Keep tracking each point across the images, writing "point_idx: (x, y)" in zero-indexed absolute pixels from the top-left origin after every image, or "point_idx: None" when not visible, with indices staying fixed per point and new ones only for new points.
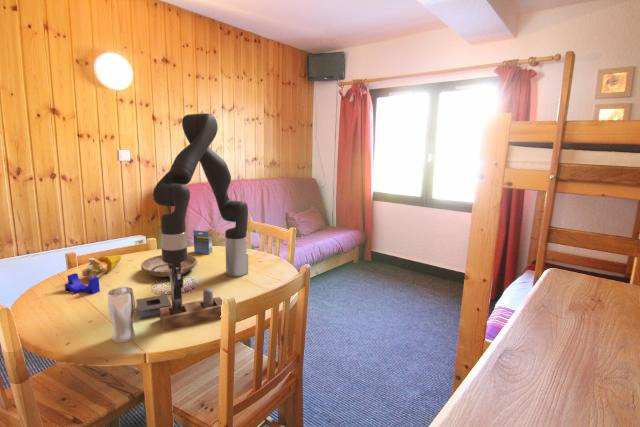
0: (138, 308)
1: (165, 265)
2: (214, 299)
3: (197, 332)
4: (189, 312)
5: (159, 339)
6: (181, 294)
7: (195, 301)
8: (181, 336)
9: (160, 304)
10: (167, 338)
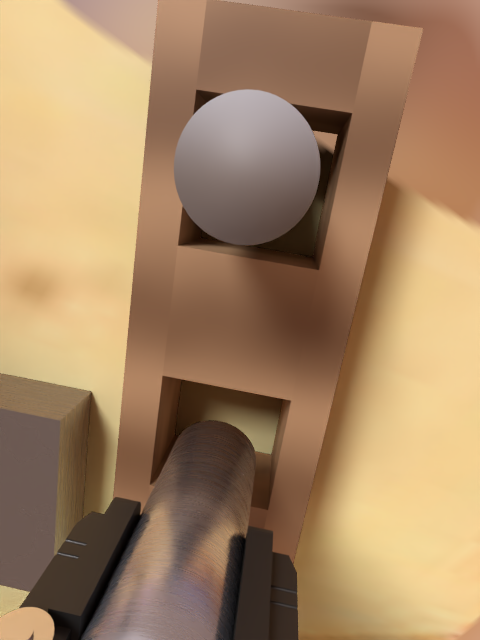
0: (10, 585)
1: None
2: (197, 80)
3: (464, 364)
4: (321, 393)
5: (378, 552)
6: (219, 524)
7: (137, 265)
8: (437, 456)
9: (14, 471)
10: (399, 520)
